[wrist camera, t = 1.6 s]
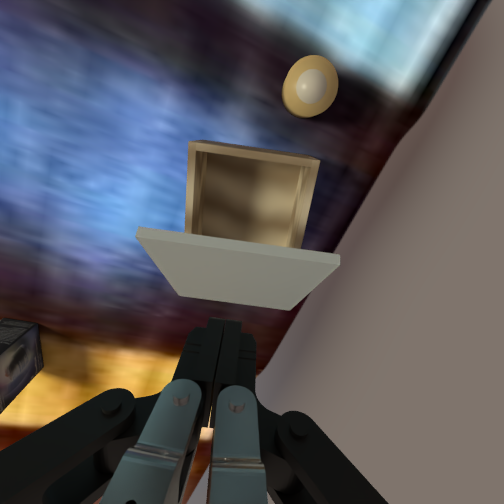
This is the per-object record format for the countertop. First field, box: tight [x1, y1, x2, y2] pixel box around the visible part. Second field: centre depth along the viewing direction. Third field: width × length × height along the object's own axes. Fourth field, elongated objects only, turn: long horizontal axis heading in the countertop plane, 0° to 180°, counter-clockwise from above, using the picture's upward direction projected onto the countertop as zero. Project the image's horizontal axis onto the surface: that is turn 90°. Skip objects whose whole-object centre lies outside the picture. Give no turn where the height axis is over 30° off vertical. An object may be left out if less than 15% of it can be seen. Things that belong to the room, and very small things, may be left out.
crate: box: [185, 140, 320, 249], centre depth 37 cm, size 18×14×8 cm
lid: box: [135, 227, 340, 310], centre depth 28 cm, size 18×14×1 cm
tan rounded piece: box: [282, 55, 338, 118], centre depth 32 cm, size 6×6×5 cm
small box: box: [0, 318, 44, 414], centre depth 46 cm, size 11×6×10 cm, turn 170°
